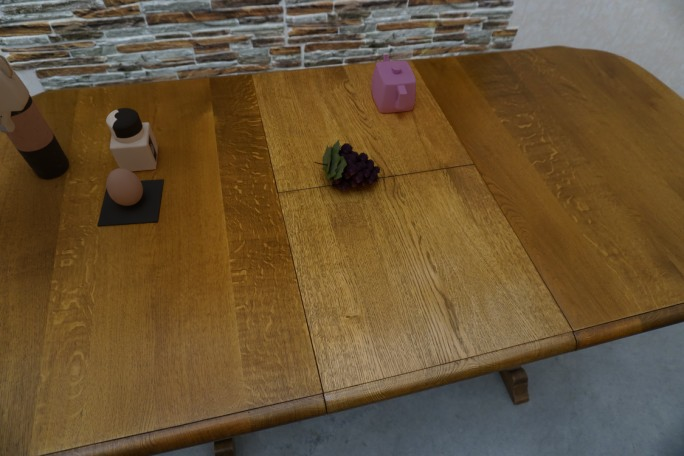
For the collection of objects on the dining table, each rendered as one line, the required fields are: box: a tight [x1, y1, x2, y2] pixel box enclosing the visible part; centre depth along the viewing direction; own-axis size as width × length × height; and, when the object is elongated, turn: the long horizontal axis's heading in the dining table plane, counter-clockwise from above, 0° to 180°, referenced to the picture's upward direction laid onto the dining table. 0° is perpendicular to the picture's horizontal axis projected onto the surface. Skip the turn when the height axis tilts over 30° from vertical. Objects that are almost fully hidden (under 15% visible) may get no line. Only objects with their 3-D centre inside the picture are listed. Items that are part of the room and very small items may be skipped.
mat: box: [96, 178, 165, 228], centre depth 99 cm, size 12×12×1 cm
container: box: [105, 107, 159, 172], centre depth 102 cm, size 8×8×13 cm
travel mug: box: [0, 93, 70, 180], centre depth 96 cm, size 8×8×20 cm
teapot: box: [370, 54, 417, 114], centre depth 120 cm, size 18×10×10 cm, turn 11°
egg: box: [105, 167, 143, 206], centre depth 95 cm, size 7×7×9 cm
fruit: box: [313, 139, 381, 192], centre depth 102 cm, size 10×11×15 cm
